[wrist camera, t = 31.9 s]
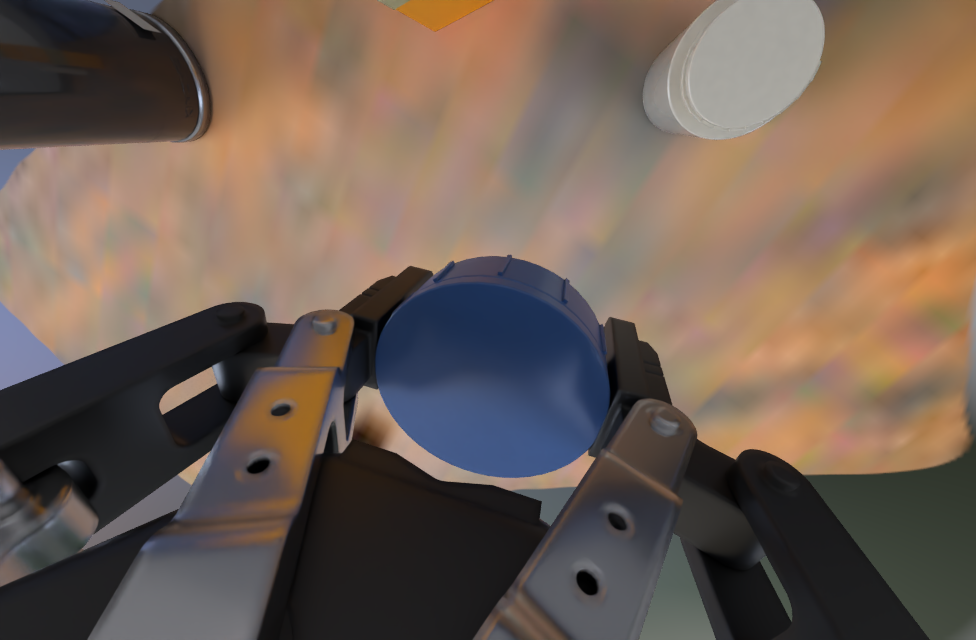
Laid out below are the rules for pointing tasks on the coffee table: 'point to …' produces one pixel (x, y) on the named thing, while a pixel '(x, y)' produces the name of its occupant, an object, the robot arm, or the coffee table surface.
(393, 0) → the orange juice
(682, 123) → the jar
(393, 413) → the lid
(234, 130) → the coffee table surface
